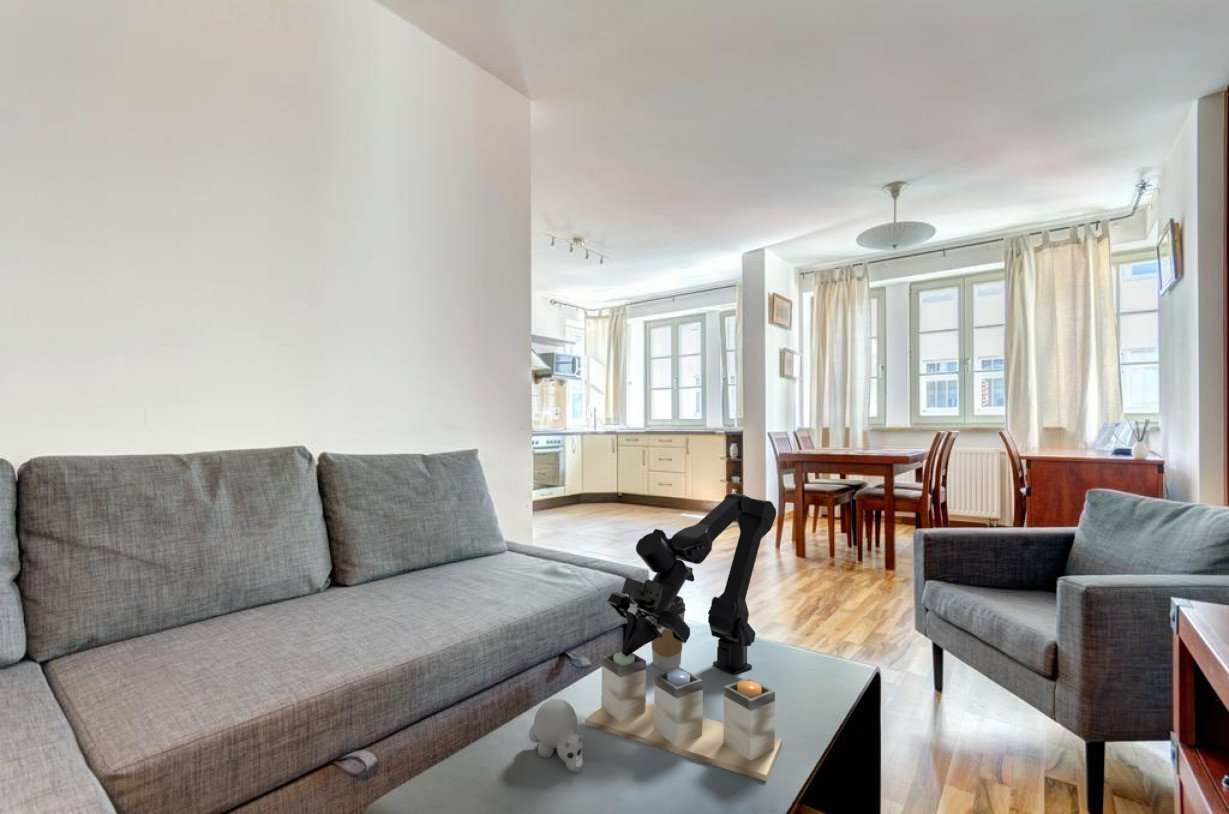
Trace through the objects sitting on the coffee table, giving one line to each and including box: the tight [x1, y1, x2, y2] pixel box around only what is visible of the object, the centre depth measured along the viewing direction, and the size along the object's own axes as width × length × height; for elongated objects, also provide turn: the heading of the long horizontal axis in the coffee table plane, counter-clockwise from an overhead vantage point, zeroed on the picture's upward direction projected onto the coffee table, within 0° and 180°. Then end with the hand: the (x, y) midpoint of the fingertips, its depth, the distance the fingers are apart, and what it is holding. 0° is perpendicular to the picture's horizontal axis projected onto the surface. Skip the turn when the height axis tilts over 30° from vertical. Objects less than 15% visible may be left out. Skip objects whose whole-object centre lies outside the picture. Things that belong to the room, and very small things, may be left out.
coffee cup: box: [650, 595, 686, 671], centre depth 130 cm, size 8×8×15 cm
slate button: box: [667, 670, 690, 687], centre depth 100 cm, size 4×4×2 cm
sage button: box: [613, 651, 635, 666], centre depth 108 cm, size 4×4×2 cm
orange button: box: [737, 680, 762, 699], centre depth 97 cm, size 4×4×2 cm
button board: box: [584, 651, 783, 782], centre depth 102 cm, size 11×33×11 cm, turn 62°
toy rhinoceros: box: [528, 698, 585, 773], centre depth 94 cm, size 7×12×8 cm, turn 36°
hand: (624, 654), depth 108 cm, fingers closed
